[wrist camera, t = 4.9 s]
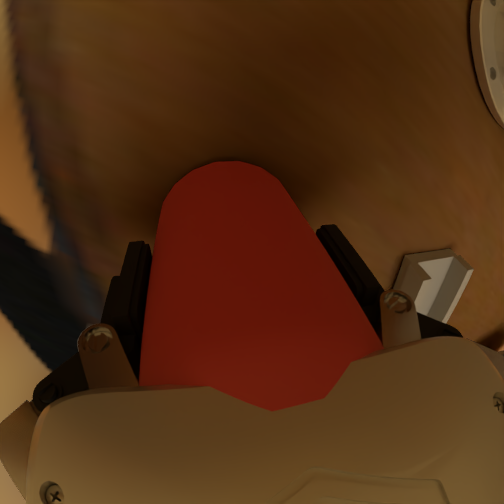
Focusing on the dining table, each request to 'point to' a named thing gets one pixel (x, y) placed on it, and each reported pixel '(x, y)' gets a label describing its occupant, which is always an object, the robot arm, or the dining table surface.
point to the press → (434, 281)
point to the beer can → (246, 294)
